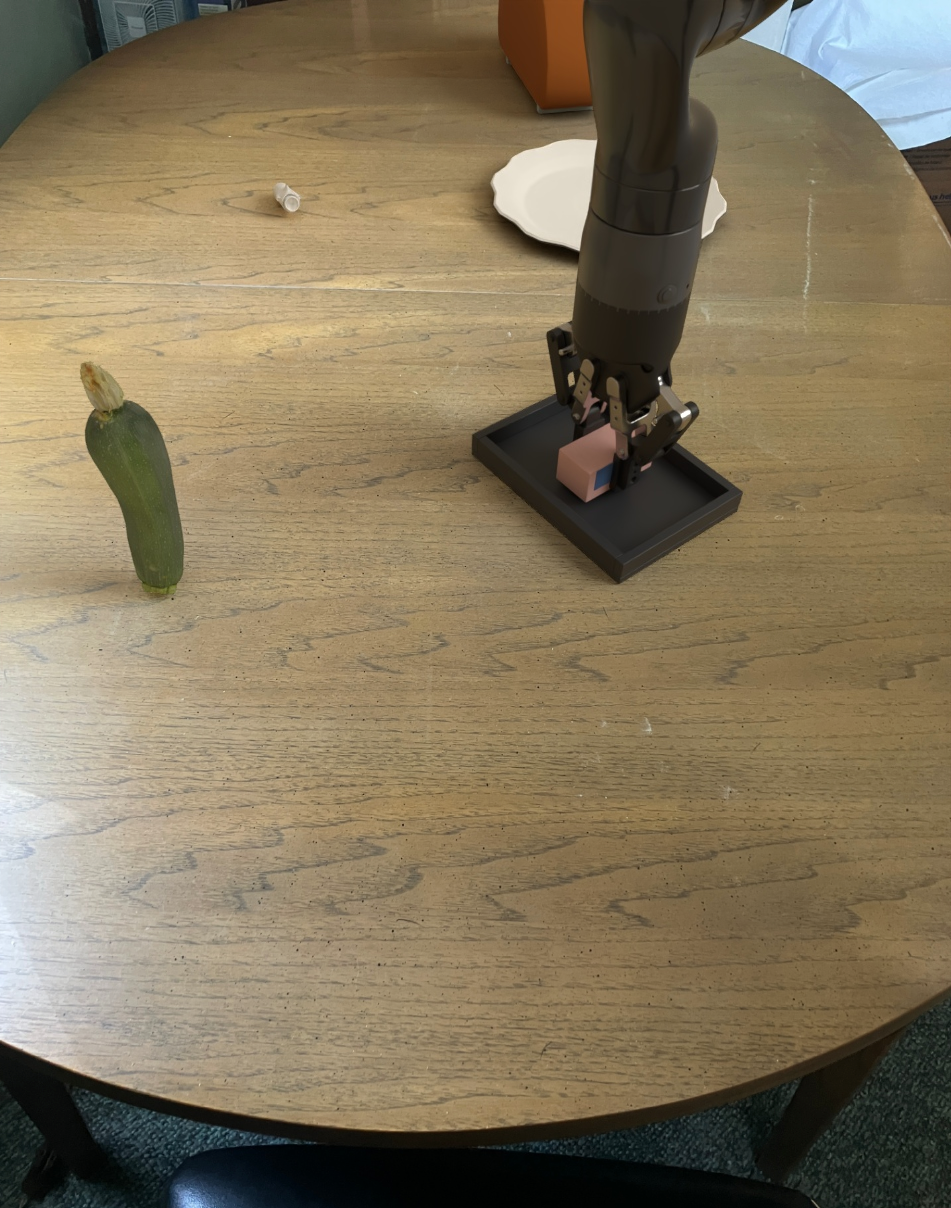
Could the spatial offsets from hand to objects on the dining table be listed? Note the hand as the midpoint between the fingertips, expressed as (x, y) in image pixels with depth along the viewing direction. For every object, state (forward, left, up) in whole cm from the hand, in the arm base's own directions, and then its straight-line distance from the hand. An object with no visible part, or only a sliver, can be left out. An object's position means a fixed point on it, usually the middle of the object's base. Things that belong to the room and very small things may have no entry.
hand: (603, 471), depth 75 cm
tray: (0, 0, -1) cm, 1 cm away
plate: (+32, -30, -1) cm, 44 cm away
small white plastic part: (+52, -2, -1) cm, 52 cm away
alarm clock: (+60, -46, -1) cm, 76 cm away
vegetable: (+10, +32, -1) cm, 34 cm away
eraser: (0, 0, 0) cm, 0 cm away
